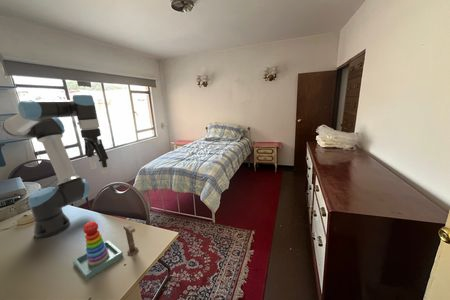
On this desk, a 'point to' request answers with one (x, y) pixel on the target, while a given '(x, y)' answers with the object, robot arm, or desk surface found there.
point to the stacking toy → (94, 245)
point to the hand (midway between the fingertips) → (99, 171)
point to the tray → (93, 270)
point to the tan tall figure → (130, 239)
